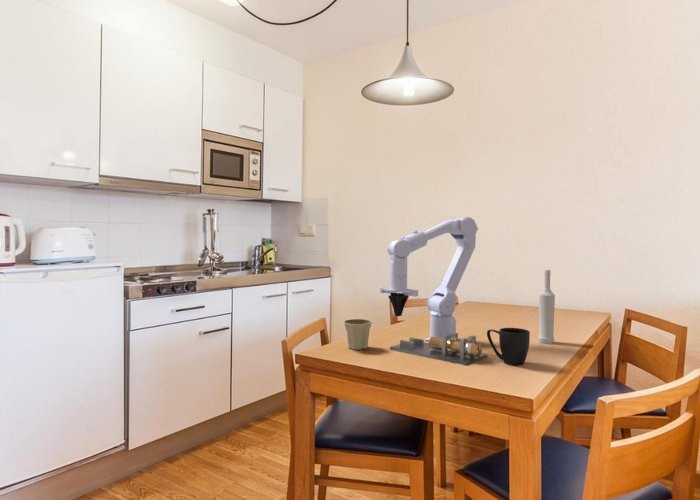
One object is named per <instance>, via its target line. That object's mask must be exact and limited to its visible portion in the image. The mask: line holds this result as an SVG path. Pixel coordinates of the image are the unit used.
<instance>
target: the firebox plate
mask: <svg viewBox="0 0 700 500" xmlns="http://www.w3.org/2000/svg"><path fill="white" fill-rule="evenodd" d="M408 339H409V340H405V339H401V340H400V341H399V344H395V345H391V346H390V347H389V349H390V350H392V351H396V352H400V353H401V352H402V353H406V354H409V355H410V354H411V355H415V356H419V357H426V358H430V359H435V360H440V361H444V362H448V363H453V364H459V365H463V366H469V365H470V364H472V363H475V362H478V361H480V360H482V359H485V358H487V357H488V353H482V352H481V355H480V357H474V356H468V355H466V358H465V359H461V358H460V354H459V353H454V352H448V351H447V355H442V350H438V349H433V348H430V347H429V342H425V339H423V338H417V337H411V336H410V337H409V338H408Z"/></svg>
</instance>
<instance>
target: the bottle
mask: <svg viewBox="0 0 700 500" xmlns="http://www.w3.org/2000/svg"><path fill="white" fill-rule="evenodd" d="M555 298H556V294H554V293H553V292H552V289H551V269H544V271H543V289H542V291H541V292H540V293H539V294H538V328H539V329H538V331H539V332H538V337H537V339H538V340H537V341H538V343H541V344H545V345H552V344H554V343H555V337H554V333H555V332H554V330H555V328H554V327H555V325H554V324H555V301H556V299H555Z"/></svg>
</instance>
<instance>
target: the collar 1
mask: <svg viewBox="0 0 700 500" xmlns="http://www.w3.org/2000/svg"><path fill="white" fill-rule="evenodd" d="M452 337H453V339H452V340H455V341H459V333H458V332H456V333H451V334H448V335H445V336H442V355H447V349H448V339H449V338H452Z"/></svg>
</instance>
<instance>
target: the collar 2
mask: <svg viewBox="0 0 700 500" xmlns="http://www.w3.org/2000/svg"><path fill="white" fill-rule="evenodd" d="M476 339H477V338H476V335H469V336H468V337H467V338H466V337H463V338H460V339H459V341H460V358H461V359H465V358H466V343H468V341H469V343H473V344H477V340H476Z"/></svg>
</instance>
